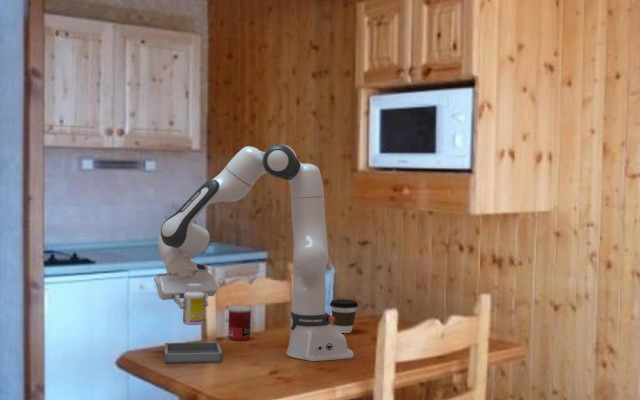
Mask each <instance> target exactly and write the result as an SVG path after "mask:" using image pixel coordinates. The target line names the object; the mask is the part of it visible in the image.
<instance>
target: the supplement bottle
mask: <svg viewBox="0 0 640 400" xmlns="http://www.w3.org/2000/svg"><path fill="white" fill-rule="evenodd" d="M201 288H202V284H197V283H190V284H187V289H188V291H187V292H185V293H184V298H183V302H185V304H186V307H185V309H182V312H183V313H182V323H183V324H184V325H186V326H201V325H203V324H204V322H205V320H204V319H205V307H204V293H203V292H201Z"/></svg>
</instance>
